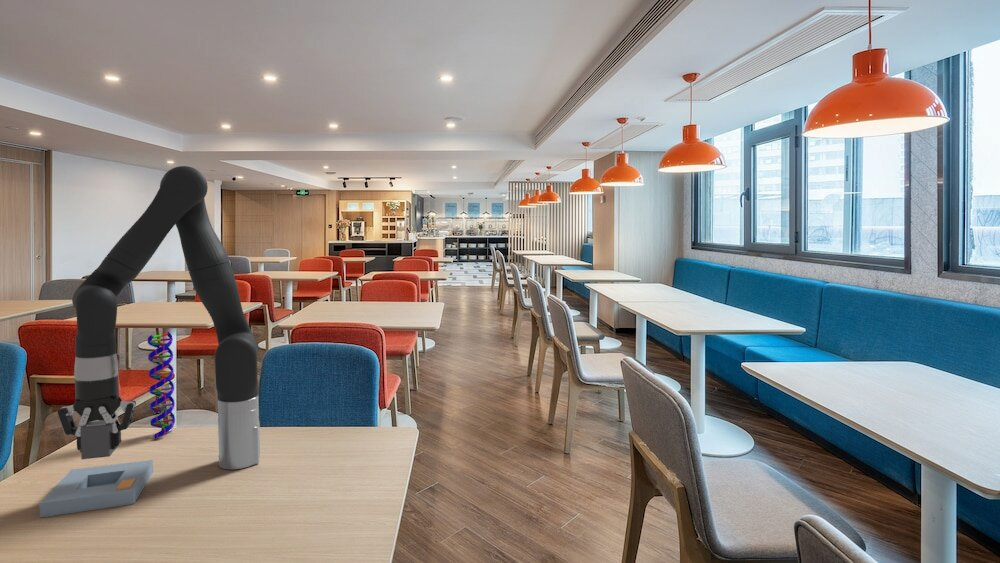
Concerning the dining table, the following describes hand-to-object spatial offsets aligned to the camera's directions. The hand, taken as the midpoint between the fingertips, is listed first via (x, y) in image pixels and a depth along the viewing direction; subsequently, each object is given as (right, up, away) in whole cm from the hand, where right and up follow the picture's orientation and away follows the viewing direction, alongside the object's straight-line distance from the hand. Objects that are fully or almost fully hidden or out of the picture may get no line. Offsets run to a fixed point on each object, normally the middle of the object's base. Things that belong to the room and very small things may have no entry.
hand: (99, 449), depth 112 cm
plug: (0, -1, 0) cm, 1 cm away
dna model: (-8, -7, +33) cm, 35 cm away
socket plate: (0, -10, +1) cm, 10 cm away
